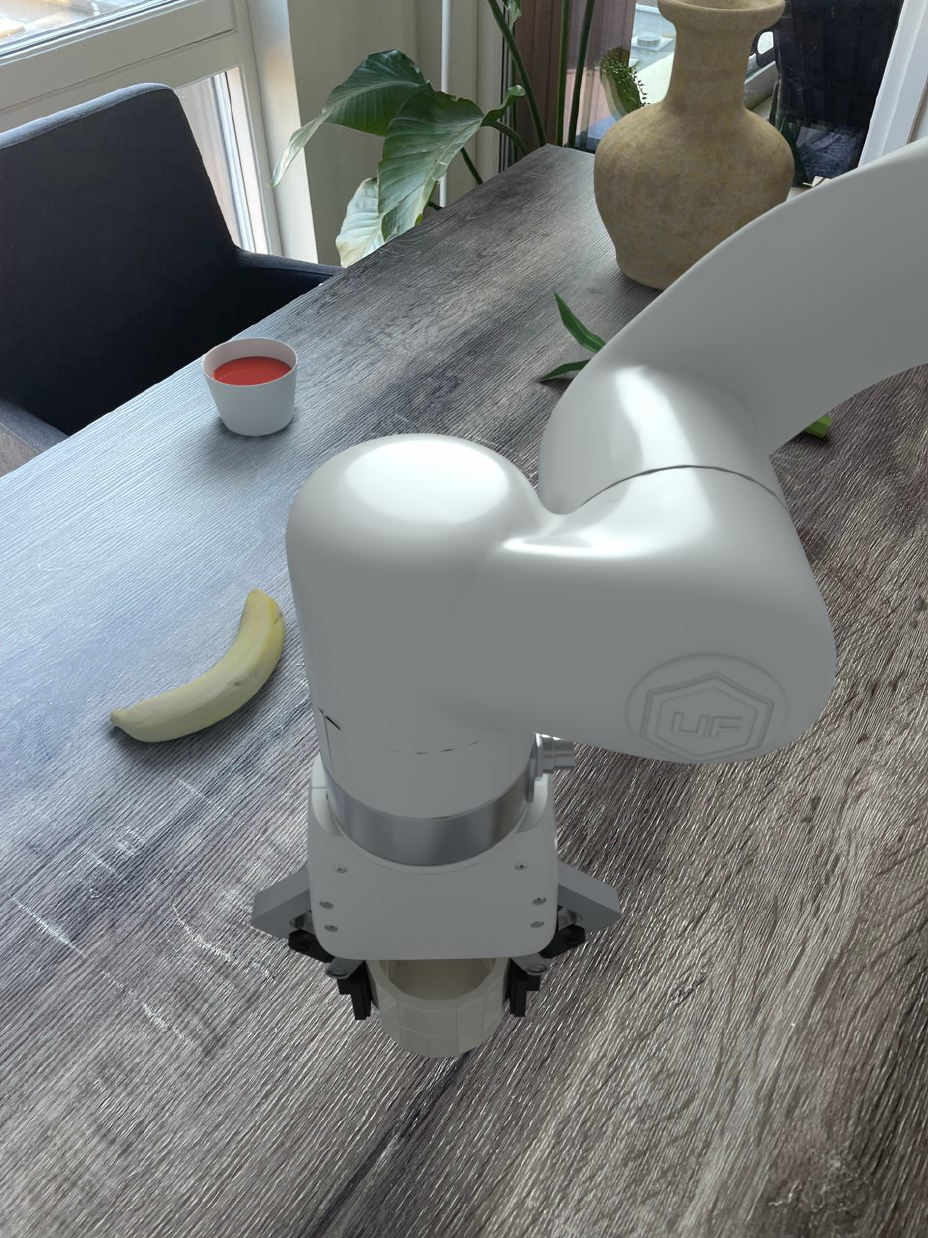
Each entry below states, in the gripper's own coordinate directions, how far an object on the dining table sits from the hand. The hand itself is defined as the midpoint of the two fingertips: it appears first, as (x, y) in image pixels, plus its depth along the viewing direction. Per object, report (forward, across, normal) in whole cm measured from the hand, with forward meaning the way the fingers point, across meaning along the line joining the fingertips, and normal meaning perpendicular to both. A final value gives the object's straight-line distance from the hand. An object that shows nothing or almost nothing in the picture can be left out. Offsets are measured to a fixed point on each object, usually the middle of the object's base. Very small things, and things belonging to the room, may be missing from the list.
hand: (440, 987), depth 48 cm
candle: (+8, +18, -63) cm, 66 cm away
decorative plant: (+9, -24, -66) cm, 71 cm away
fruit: (+8, +17, -28) cm, 34 cm away
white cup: (+1, 0, 0) cm, 1 cm away
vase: (+9, -28, -95) cm, 99 cm away
